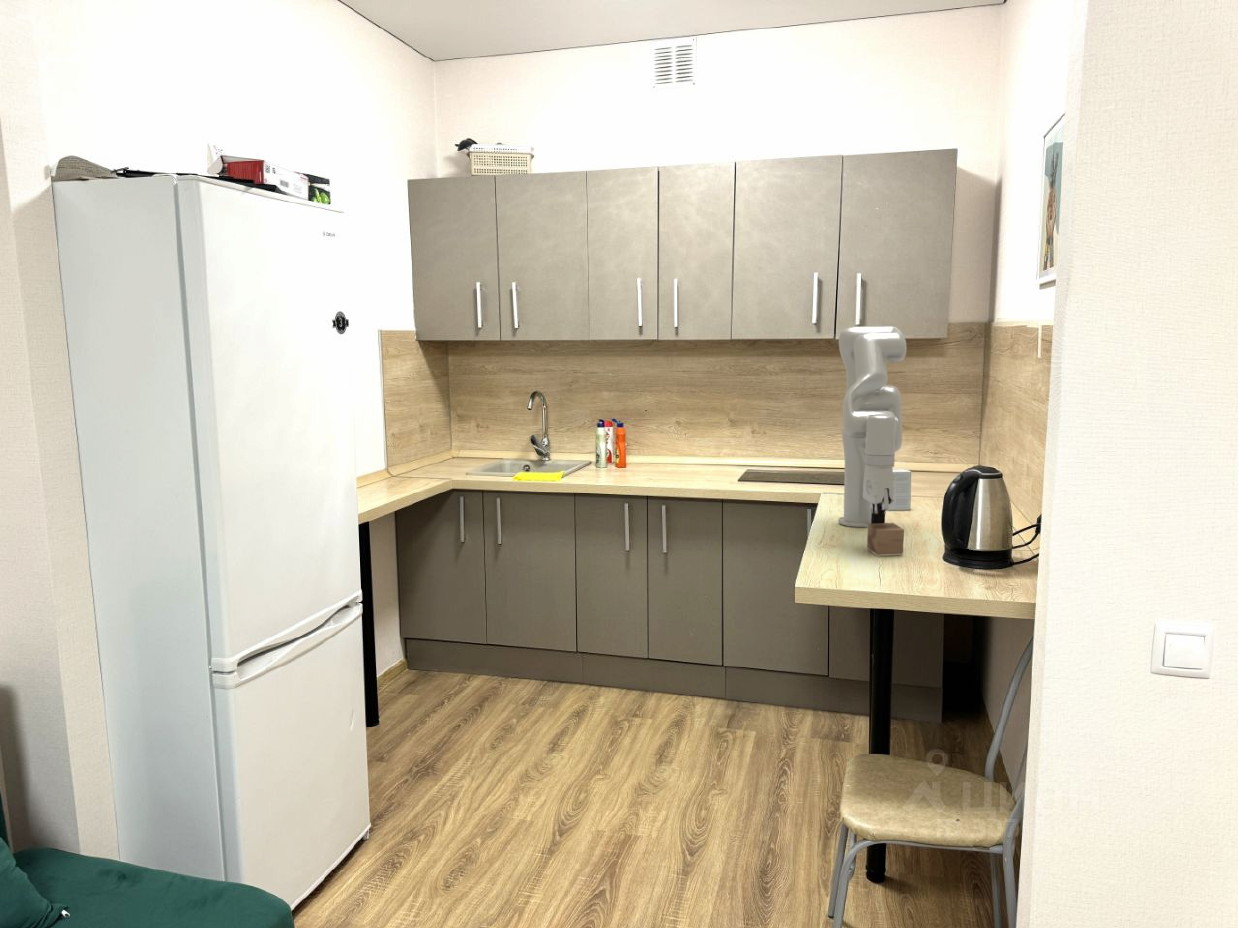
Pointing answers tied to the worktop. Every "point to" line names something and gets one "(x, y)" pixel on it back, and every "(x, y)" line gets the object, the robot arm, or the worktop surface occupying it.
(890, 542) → the walnut block
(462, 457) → the worktop surface
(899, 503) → the small box
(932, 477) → the worktop surface
